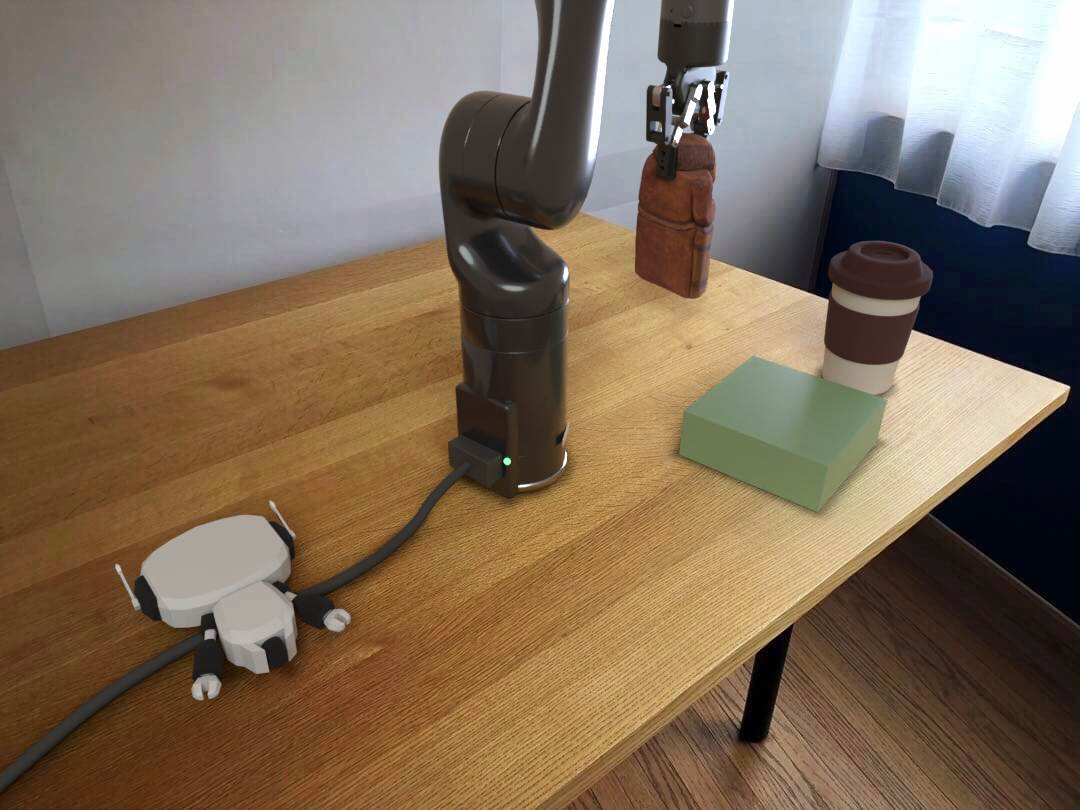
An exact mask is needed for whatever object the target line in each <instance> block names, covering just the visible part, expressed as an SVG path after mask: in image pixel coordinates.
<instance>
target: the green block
mask: <svg viewBox="0 0 1080 810" xmlns="http://www.w3.org/2000/svg"><path fill="white" fill-rule="evenodd" d="M887 403H888V399H887V398H885V397H881V396H878V395H872V394H869V393H866V392H863V391H860V390H857V389H854V388H851V387H847V386H844V385H841V384H838V383H835V382H832V381H829V380H826V379H824V378H823V377H820V376H817V375H814V374H811V373H807V372H804V371H802V370H798V369H795V368H792V367H790V366H787V365H784V364H780V363H777V362H774V361H772V360H768V359H765V358H762V357H759V356H756V355H752V356H750V357H749V358H748V359H747V360H746V361H744V362H743V363H742V364H741V365H739V366H738V367H737V368H735V369H734V370H733V371H732V372H731V373H729V374H727V376H726V377H724V378H723V379H722V380H721V381H719V382H718V383H717V384H715V385H714V386H712V388H710V389H709V390H708V391H707V392H705V393H704V394H702V395H701V397H699V398H698V399H697V400H695V401H694V402H693V403H692V404H690V405H689V406H688V407H686V408H684V409H683V414H682V423H681V432H680V442H679V451H678V455H679V456H681V457H684V458H686V459H688V460H691V461H693V462H695V463H697V464H701V465H703V466H705V467H707V468H710V469H712V470H715V471H717V472H720V473H722V474H724V475H727V476H729V477H732V478H734V479H736V480H739V481H741V482H743V483H746V484H748V485H750V486H753V487H755V488H758V489H761V490H762V491H765V492H768V493H769V494H772V495H775V496H777V497H779V498H782V499H785V500H786V501H789V502H791V503H794V504H797V505H799V506H801V507H803V508H806V509H809V510H811V511H813V512H815V513H819V512H820V511H821V509H822V508H823V507H824V506H825V505H826V503H827V502H828V501H829V500H830V498H832V496H833V495H834V494H835V493H836V492H837V490H838V489H839V488H840V487H841V486H842V484H843V483H844V482H845V481H846V480H847V479H848V477H849V476H850V475H851V474H852V473H853V472H854V470H855V469H856V468H857V467H858V466H859V465H860V463H861V462H862V461H863V459H864V458H865V457H866V456H867V455H868V454H869V452H870V451H872V448H873V447H875V445H876V444H877V442H878V439H879V434H880V431H881V427H882V422H883V419H884V415H885V411H886V408H887Z"/></svg>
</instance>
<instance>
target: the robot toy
mask: <svg viewBox="0 0 1080 810" xmlns="http://www.w3.org/2000/svg"><path fill="white" fill-rule="evenodd" d="M268 502H269V507H270V509H271V510H272V511H273V513H275V515H276V517H277V518H278V520H279V521H280V523H281V524H279V523H278V522H276V521H275V520H270V521H268V520H267V519H266V518H265V517H264V516H262V515H252V514H238V515H234V516H228V517H223V518H221V519H217V520H214V521H210V522H207V523H204V524H200V525H198V526H194V527H192V528H191V529H189V530H187V531H185V532H183V533H182V534H179V535H177V536H176V537H174V538H172V539H170V540H168V541H167V542H166V543H164V544H163V545H161V546H159V547H158V548H156V549H155V550H154V551H153V552H151V553H150V554H149V555H148V556H147V557H146V559H145V560H144V561H142V563H141V566H140V567H141V568H140V574H139V576H138V577H137V578H136V579H135V580H134V589H133V592H132V589H131V588H130V586H129V583H128V582H127V580H126V577H125V576H124V573H123V570H122V567H121V565H120V564H118V563H115V565H114V566H115V570H116V573H117V574H118V575H119V577H120V579H121V581H122V583H123V585H124V587H125V589H126V592H127V593H128V595H129V597H130V599H131V600H130V601H131V604H132V607H133V608H134V610H135V612H136V611H139V610H141V612H142V614H143V615H144V616H147V617H148V618H149V619H150V620H152V621H153V622H161V621H162V622H164V623H165V624H167V625H168V626H169V627H172V628H179V629H181V628H182V629H183V628H195V627H199V633H200V634H201V635H202V637H203V638H205V640H204V641H203V642H202V643H201V644H200V645H199V646H198V647H197V648H196V649H194V652H193V653H194V655H193V663H192V664H193V666H192V676H191V679H192V681H193V682H194V683H193V684H192V686H191V688H190V690H191V694H192V697H193V698H194V699H195V700H197V701H204V700H205V698H204V694H205V693H206V692H207V697H208V700H211V699H214V698H217V697H218V695H219V694H220V691H221V688H222V685H223V684H222V682H223V674H224V672H223V671H224V655H225V657H226V659H227V661H229V663H231V664H233V665H235V666H237V667H243V668H245V669H248V670H249V671H251V672H252V673H254V674H256V675H260V674H266V673H270V669H269V668H271V669H273V670H277V669H280V668H282V667H284V666H285V665H286V664H287V663H288V662H289V663H290V662H291V660H292V659H293V658H294V657H295V656H296V655H297V653H298V650H297V644H296V641H297V637H298V636H299V634H298V627H297V626H298V625H297V621H296V615H297V616H298V617H299V619H300V620H301V622H303V623H305V624H307V625H309V626H312V627H313V628H316V629H318V630H320V631H322V630H324V629H325V628H327V630H329V631H330V632H335V633H340V632H342V631H344V630H345V629H346V626H347V625H349V624H350V623H351V620H352V617H351V614H350V613H349V612H347V611H346V610H345V609H344V608H336V605H335V603H334V600H332V599H329V598H327V597H325V596H324V595H321V596H320V595H318V594H316V593H314V592H313V593H306V594H301V595H295V594H293V592H291V587H290V585H288V584H286V583H285V582H286V581H287V580H288V578H289V577H290V575H291V573H292V561H293V560H294V559H295V558H296V549H295V542H294V541H296V538H297V536H296V534H295V532H294V531H293V530H292V529H290V527H289V526H288V524H287V522H286V521H285V519H284V518H283V516H282V515H281V513H280V512H279V509H277V507H276V504H275V503H274V501H272V500H270V499H269V500H268ZM295 613H296V615H295ZM218 636H219V637H218ZM216 637H218V639H219V641H220V644H221V647H220V645H219V644H218V642H217V638H216Z"/></svg>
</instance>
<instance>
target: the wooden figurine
mask: <svg viewBox="0 0 1080 810" xmlns="http://www.w3.org/2000/svg"><path fill="white" fill-rule="evenodd" d="M677 147H679V149H678V160H677V171H676V178H675V179H674V180H671V181H666V180H662V179H658V178H657V177H656V166H657V153H658V146H657V145H656V146H654V148H653V149H652V153H650V154H649V155H648V156H647V158H646V160H645V161H644V164H643V167H642V171H641V178H640V183H639V190H638V198H637V200H638V202H637V203H638V204H637V214H636V224H635V225H636V227H635V240H634V241H635V243H634V245H635V247H634V248H635V250H634V251H635V252H634V272H635V273H634V274H636V275H637V276H638V277H639V278H640V279H642V280H643V281H646V282H648V283H650V284H653V285H655V286H657V287H660V288H663V289H664V290H667V291H669V292H671V293H673V294H675V295H678V296H679V297H682V298H683V299H691V300H693V299H695V300H696V299H699V298H701V297H702V296H703V295H704V294H705V293H706V291H707V287H708V282H709V281H708V280H709V274H710V265H711V252H712V242H713V236H714V224H713V222H714V221H715V217H716V209H717V206H716V201H715V199H714V197H713V191H714V184H715V181H716V178H717V162H716V160H717V159H716V152H715V150H714V147H713V145H712V143H711V142H710V140H709V141H708V140H707V139H705V138H704V137H702V136H699V135H696V134H692V132H682V134H681V137H680V140H679V143H678V146H677Z"/></svg>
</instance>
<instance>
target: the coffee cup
mask: <svg viewBox="0 0 1080 810" xmlns="http://www.w3.org/2000/svg"><path fill="white" fill-rule="evenodd" d="M827 275H828V279H829V280H830V281H831V282H832V288H831V289H830V291H829V293H828V303H827V310H826V320H825V326H824V335H823V343H824V352H823V353H824V354H823V362H822V369H821V370H822V372H821V373H822V378H823V379H826V380H829V381H832V382H835V383H838V384H841V385H844V386H847V387H851V388H854V389H857V390H860V391H863V392H866V393H869V394H872V395H875V396H878V395H880V394H883V393H885V392H887V391H888V390H889V389H890V387H891V386H892V384H893V382H894V381H893V380H894V377H895V374H896V372H897V369H898V366H899V364H900V360H901V359H902V358H903V356H904V354H905V353H906V350H907V346H908V342H909V340H910V337H911V334H912V331H913V329H914V326H915V323H916V319H917V317H918V314H919V310H920V300H921V297H922V296H924V295H925V294H927V293H928V292H929V291H930V290H931V285H932V281H933V278H934V273H933V270H932V269H931V268H930V267H929V266H928V265H927V264H925V263H924V262H923V261H922V260H921V256H920V254H919V253H918V252H917V251H915V250H914V249H913V248H912V247H911V248H910V247H909V246H906V245H904V244H899V243H896V242H891V241H884V240H866V241H860V242H856V243H853V244H852V245H850V247H849V248H848V250H846V251H843V252H839V253H837V254H835V255H834V256H833V257H832V258H831V259H830V262H829V267H828V274H827Z"/></svg>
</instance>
